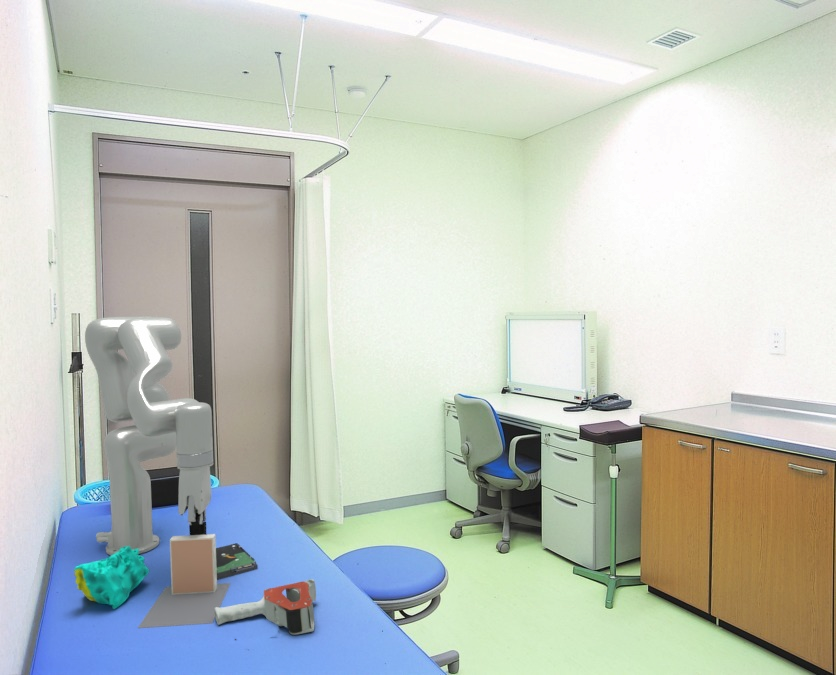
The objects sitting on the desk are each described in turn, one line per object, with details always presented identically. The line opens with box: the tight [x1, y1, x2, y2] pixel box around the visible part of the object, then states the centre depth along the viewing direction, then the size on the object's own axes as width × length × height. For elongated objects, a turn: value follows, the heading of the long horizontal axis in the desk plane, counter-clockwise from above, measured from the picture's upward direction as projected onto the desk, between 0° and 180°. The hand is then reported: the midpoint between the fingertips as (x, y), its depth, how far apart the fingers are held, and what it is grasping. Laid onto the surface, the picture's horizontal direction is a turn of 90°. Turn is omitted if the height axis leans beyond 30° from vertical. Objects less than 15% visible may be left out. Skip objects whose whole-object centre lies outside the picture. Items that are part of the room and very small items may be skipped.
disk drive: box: [216, 542, 258, 581], centre depth 143 cm, size 10×3×15 cm
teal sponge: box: [73, 546, 150, 610], centre depth 128 cm, size 15×12×13 cm
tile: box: [169, 533, 218, 595], centre depth 129 cm, size 9×2×12 cm, turn 96°
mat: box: [137, 582, 231, 629], centre depth 124 cm, size 14×17×1 cm
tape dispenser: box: [214, 578, 317, 636], centre depth 119 cm, size 18×5×20 cm
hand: (198, 540), depth 133 cm, fingers closed
